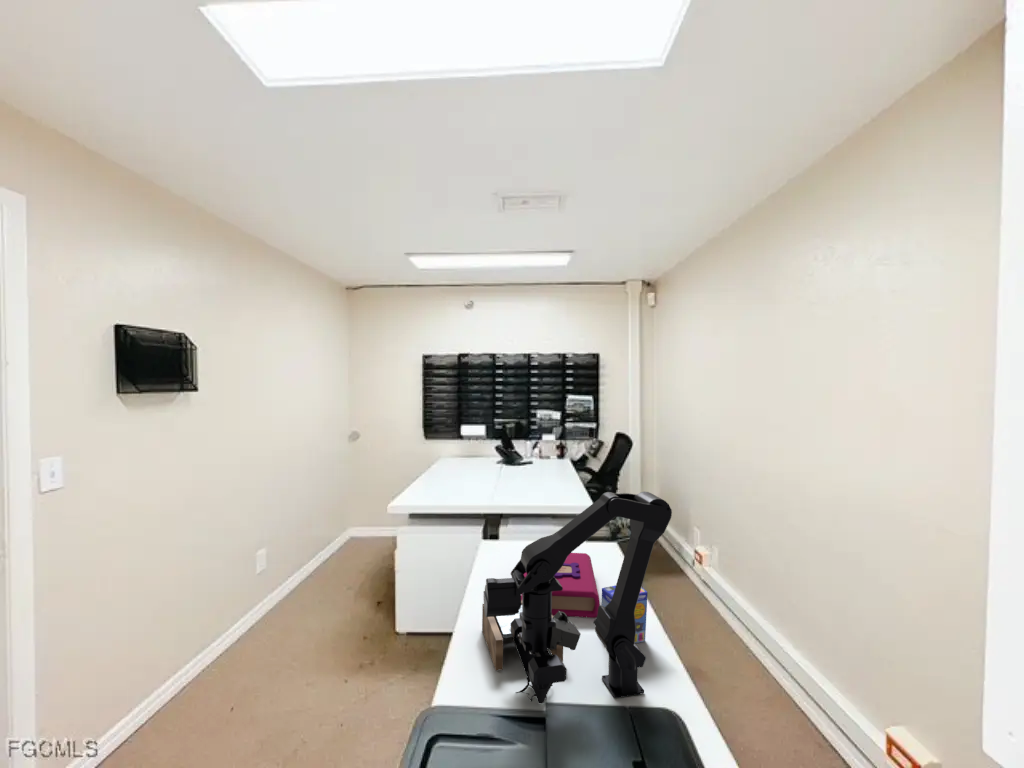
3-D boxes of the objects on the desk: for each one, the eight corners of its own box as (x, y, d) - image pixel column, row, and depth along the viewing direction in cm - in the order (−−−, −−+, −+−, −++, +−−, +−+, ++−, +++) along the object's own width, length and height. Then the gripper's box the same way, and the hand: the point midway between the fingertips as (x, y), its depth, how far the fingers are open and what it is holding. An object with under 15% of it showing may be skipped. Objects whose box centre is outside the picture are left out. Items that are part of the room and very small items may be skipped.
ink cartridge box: (611, 649, 112) (612, 587, 112) (598, 637, 118) (600, 577, 117) (647, 641, 116) (648, 581, 116) (633, 630, 121) (635, 572, 121)
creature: (511, 693, 98) (524, 710, 91) (510, 664, 99) (522, 678, 92) (548, 686, 101) (563, 702, 93) (546, 657, 102) (561, 671, 94)
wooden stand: (562, 661, 107) (563, 632, 107) (495, 670, 104) (496, 640, 104) (541, 623, 123) (541, 598, 123) (482, 630, 120) (482, 603, 120)
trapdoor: (551, 632, 109) (551, 628, 109) (503, 637, 106) (503, 634, 106) (536, 606, 120) (536, 603, 120) (492, 611, 118) (492, 608, 118)
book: (590, 575, 155) (591, 551, 154) (599, 620, 127) (600, 591, 126) (523, 572, 156) (524, 548, 156) (518, 615, 128) (518, 587, 128)
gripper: (594, 632, 88) (592, 717, 89) (560, 587, 107) (559, 658, 107) (535, 639, 86) (533, 726, 86) (510, 591, 104) (509, 664, 104)
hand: (535, 690), depth 96 cm, fingers closed on creature, 7 cm apart
